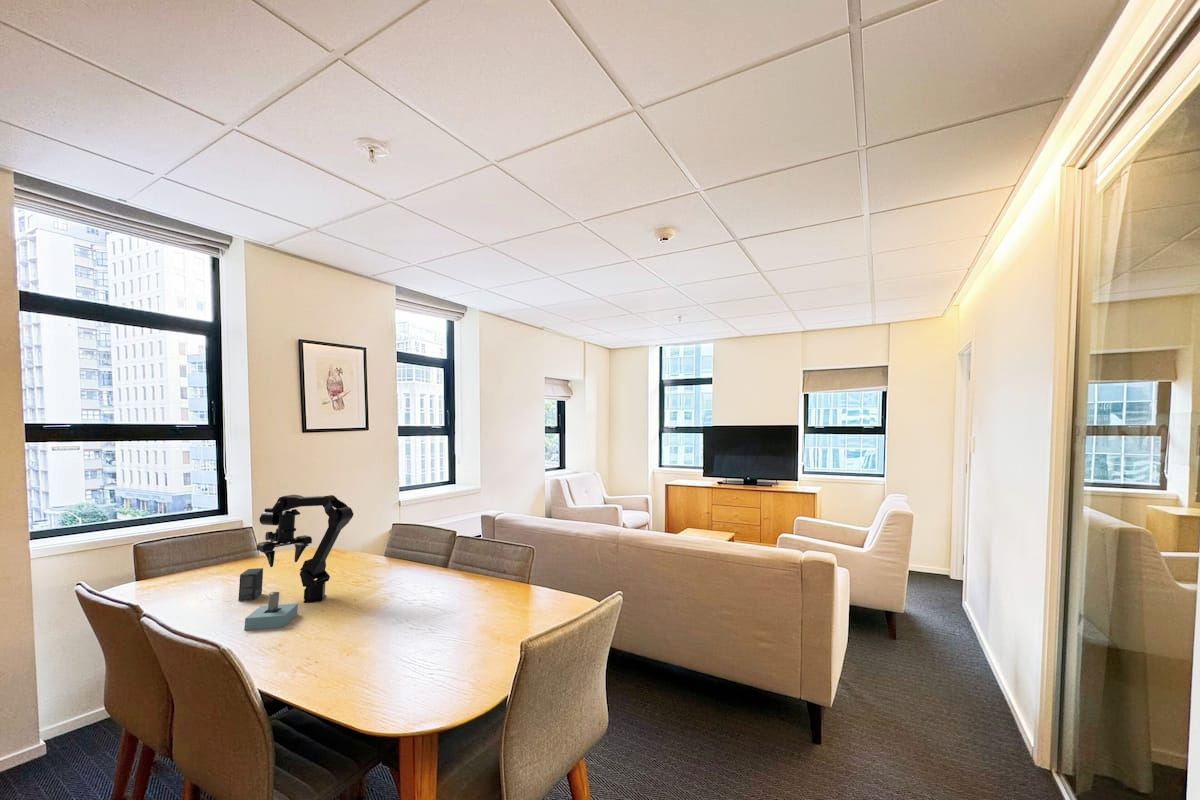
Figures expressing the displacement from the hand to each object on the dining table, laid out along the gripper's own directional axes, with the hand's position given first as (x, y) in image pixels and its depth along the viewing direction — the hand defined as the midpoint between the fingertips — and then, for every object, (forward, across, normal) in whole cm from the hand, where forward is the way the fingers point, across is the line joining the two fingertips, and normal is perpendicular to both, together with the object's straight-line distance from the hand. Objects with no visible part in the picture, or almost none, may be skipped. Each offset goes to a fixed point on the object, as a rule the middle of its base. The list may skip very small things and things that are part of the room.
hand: (283, 564), depth 193 cm
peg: (+13, +15, +25) cm, 32 cm away
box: (+13, +7, -10) cm, 18 cm away
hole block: (+13, +15, +25) cm, 32 cm away
